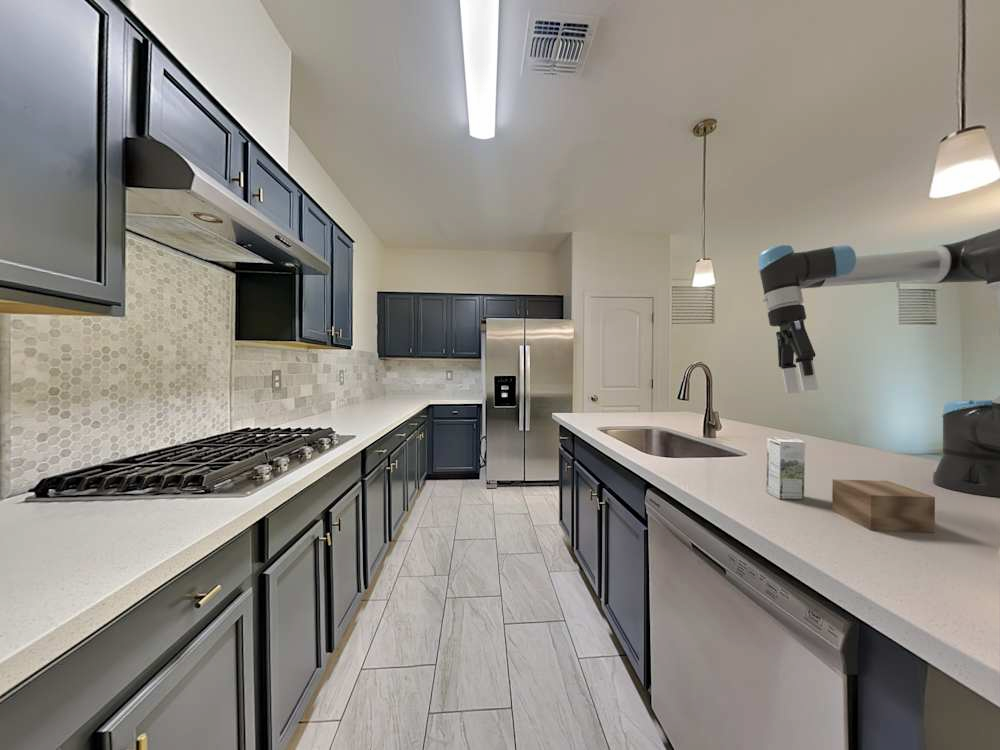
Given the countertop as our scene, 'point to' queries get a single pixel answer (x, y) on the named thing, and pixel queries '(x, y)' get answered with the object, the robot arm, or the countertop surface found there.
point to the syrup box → (785, 468)
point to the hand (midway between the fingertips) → (801, 391)
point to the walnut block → (884, 506)
